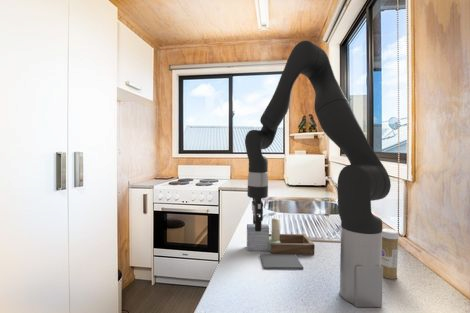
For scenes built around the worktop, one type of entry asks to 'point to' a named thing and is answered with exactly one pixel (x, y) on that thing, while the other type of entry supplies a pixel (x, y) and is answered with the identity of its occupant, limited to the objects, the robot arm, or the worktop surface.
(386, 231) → the sprinkles bottle
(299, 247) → the walnut cubby
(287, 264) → the charcoal mat
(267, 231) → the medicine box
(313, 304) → the worktop surface
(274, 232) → the sage rake
